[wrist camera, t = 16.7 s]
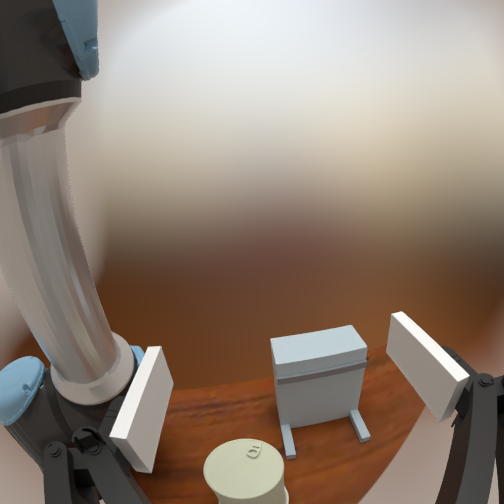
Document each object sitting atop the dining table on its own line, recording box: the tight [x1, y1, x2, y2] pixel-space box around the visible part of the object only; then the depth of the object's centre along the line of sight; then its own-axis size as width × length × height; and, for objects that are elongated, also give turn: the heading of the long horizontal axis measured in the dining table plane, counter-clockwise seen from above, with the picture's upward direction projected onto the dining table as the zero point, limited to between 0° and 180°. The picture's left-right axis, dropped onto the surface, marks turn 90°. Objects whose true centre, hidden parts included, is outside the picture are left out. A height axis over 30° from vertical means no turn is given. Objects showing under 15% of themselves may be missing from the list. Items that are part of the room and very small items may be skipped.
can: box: [204, 439, 286, 504], centre depth 25 cm, size 9×9×12 cm
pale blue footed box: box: [271, 325, 370, 460], centre depth 39 cm, size 14×14×16 cm
